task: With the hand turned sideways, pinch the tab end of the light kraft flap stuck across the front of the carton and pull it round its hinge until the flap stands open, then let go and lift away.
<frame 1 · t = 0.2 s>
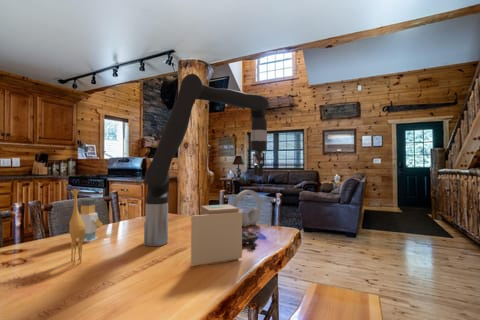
hand: (258, 175, 118), 29 cm above the table, tool pointing down, fingers open, 8 cm apart
carton: (219, 257, 94), on the table
figurine: (237, 240, 116), on the table
headphones: (247, 226, 142), on the table
character figure: (89, 240, 114), on the table
flap: (217, 237, 87), point 9 cm above the table, hinge at 0.0°
giraffe: (75, 260, 90), on the table
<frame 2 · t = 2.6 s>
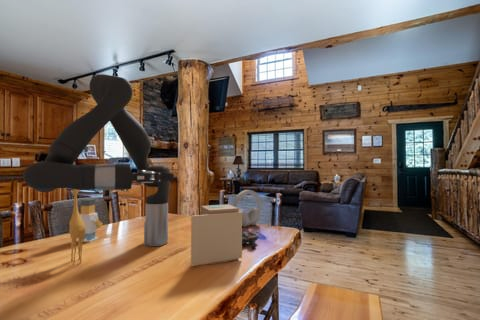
hand: (170, 176, 81), 30 cm above the table, tool horizontal, fingers open, 8 cm apart
nothing on the table moved.
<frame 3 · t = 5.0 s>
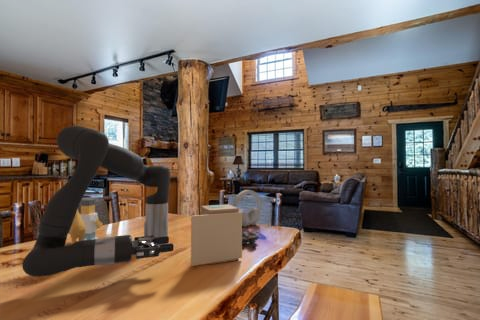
hand: (170, 243, 81), 9 cm above the table, tool horizontal, fingers open, 8 cm apart
nothing on the table moved.
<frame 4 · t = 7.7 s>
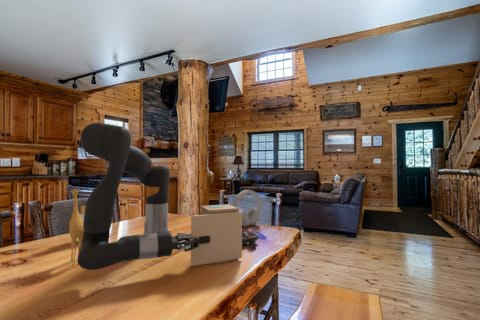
hand: (208, 238, 86), 9 cm above the table, tool horizontal, fingers closed
flap: (217, 237, 87), point 9 cm above the table, hinge at 0.0°, touching gripper
everything else where it was.
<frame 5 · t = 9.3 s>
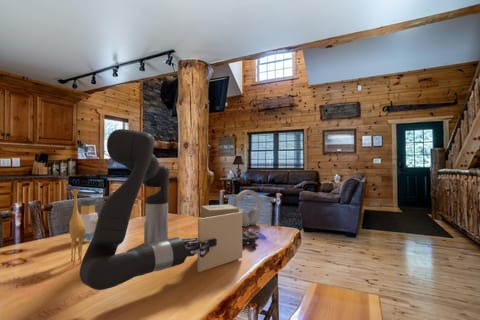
hand: (214, 241, 83), 9 cm above the table, tool horizontal, fingers closed
flap: (221, 239, 85), point 9 cm above the table, hinge at 17.9°, touching gripper
everything else where it was.
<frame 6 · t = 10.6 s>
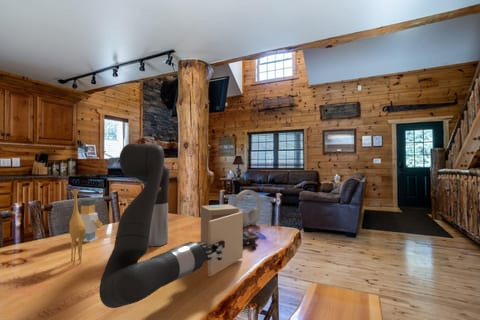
hand: (221, 243, 81), 9 cm above the table, tool horizontal, fingers closed
flap: (226, 240, 83), point 9 cm above the table, hinge at 33.3°, touching gripper
everything else where it was.
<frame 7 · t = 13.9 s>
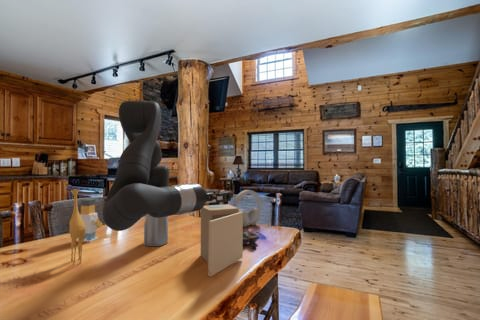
hand: (220, 193, 80), 25 cm above the table, tool horizontal, fingers open, 8 cm apart
flap: (227, 241, 83), point 9 cm above the table, hinge at 33.6°
everything else where it was.
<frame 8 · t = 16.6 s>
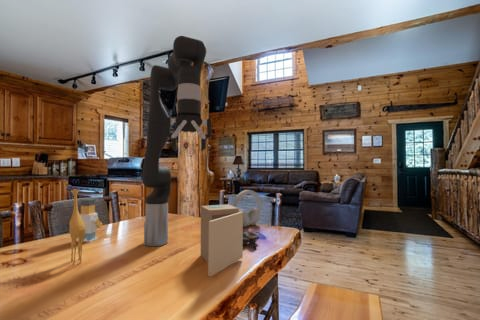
hand: (188, 151, 82), 38 cm above the table, tool pointing down, fingers open, 8 cm apart
nothing on the table moved.
at the end: flap at +34° (first picture: +0°); the gripper is holding nothing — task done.
